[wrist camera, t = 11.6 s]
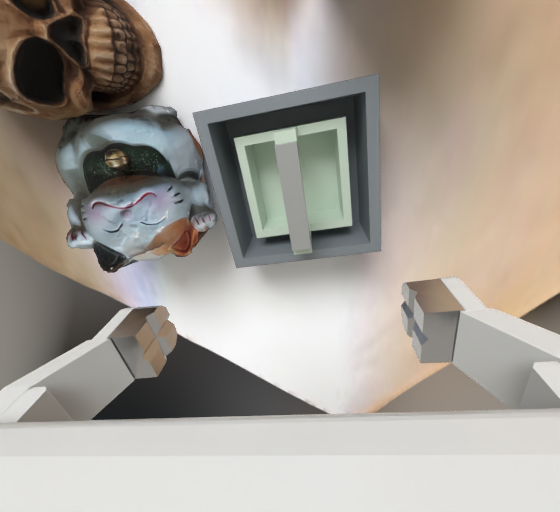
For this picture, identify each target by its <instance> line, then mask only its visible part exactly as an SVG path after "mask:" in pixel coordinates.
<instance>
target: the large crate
mask: <svg viewBox="0 0 560 512" xmlns="http://www.w3.org/2000/svg"><path fill="white" fill-rule="evenodd" d="M339 116H341V117H346V130H347V146H348V162H349V179H350V195H351V211H352V226H346V227H339V228H331V229H323V230H316V231H311V240H312V253H306V254H297V255H294V251H292V246H291V240H290V234H286V235H278V236H271V237H263V238H257V236H256V232H255V228H254V224H253V219H252V215H251V211H250V206H249V202H248V198H247V193H246V189H245V185H244V180H243V176H242V172H241V168H240V163H239V159H238V155H237V150H236V146H235V142H234V138H236V137H239V136H242V135H246V134H251V133H256V132H262V131H267V130H272V129H277V128H282V127H287V126H293V125H298V124H303V123H308V122H313V121H319V120H324V119H329V118H334V117H339ZM193 117H194V120H195V124H196V127H197V131H198V134H199V138H200V141H201V145H202V148H203V152H204V155H205V159H206V162H207V166H208V170H209V173H210V177H211V180H212V184H213V187H214V191H215V194H216V198H217V201H218V205H219V208H220V212H221V215H222V219H223V222H224V226H225V229H226V233H227V237H228V240H229V244H230V247H231V251H232V254H233V258H234V261H235V265H236V268H240V267H249V266H257V265H266V264H275V263H283V262H292V261H300V260H309V259H317V258H326V257H335V256H343V255H352V254H360V253H369V252H377V251H381V207H380V123H379V74H374V75H369V76H365V77H360V78H355V79H351V80H346V81H341V82H336V83H332V84H327V85H322V86H317V87H313V88H308V89H303V90H299V91H294V92H289V93H284V94H280V95H275V96H270V97H266V98H261V99H256V100H251V101H247V102H242V103H237V104H232V105H228V106H223V107H218V108H214V109H209V110H204V111H199V112H195V113H193Z"/></svg>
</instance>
